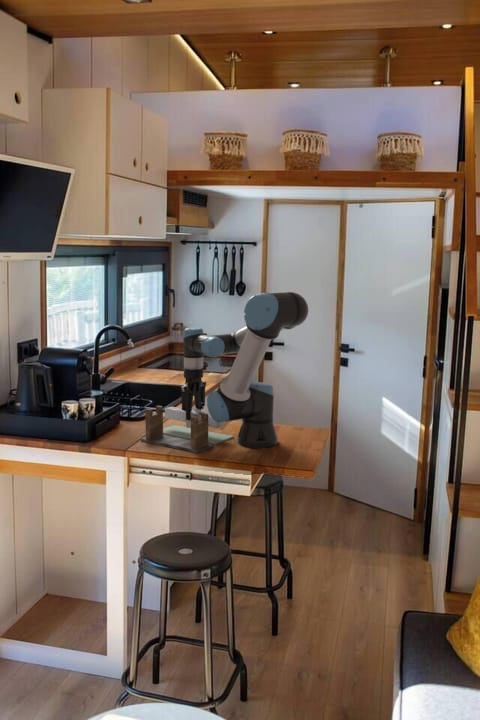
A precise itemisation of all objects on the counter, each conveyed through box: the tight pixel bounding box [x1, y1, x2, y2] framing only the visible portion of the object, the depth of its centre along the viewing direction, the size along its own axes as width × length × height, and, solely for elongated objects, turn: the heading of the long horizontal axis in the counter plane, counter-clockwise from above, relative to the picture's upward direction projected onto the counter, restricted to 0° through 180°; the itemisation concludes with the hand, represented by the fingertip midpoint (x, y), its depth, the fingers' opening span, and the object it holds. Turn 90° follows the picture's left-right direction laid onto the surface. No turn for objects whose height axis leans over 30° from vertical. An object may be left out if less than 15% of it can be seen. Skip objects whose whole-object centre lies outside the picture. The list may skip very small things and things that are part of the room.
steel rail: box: [164, 406, 224, 429], centre depth 271 cm, size 26×4×4 cm, turn 55°
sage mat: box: [163, 424, 235, 445], centre depth 272 cm, size 30×12×1 cm, turn 55°
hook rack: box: [140, 405, 215, 454], centre depth 258 cm, size 28×9×12 cm, turn 55°
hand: (193, 426), depth 272 cm, fingers closed on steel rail, 4 cm apart
